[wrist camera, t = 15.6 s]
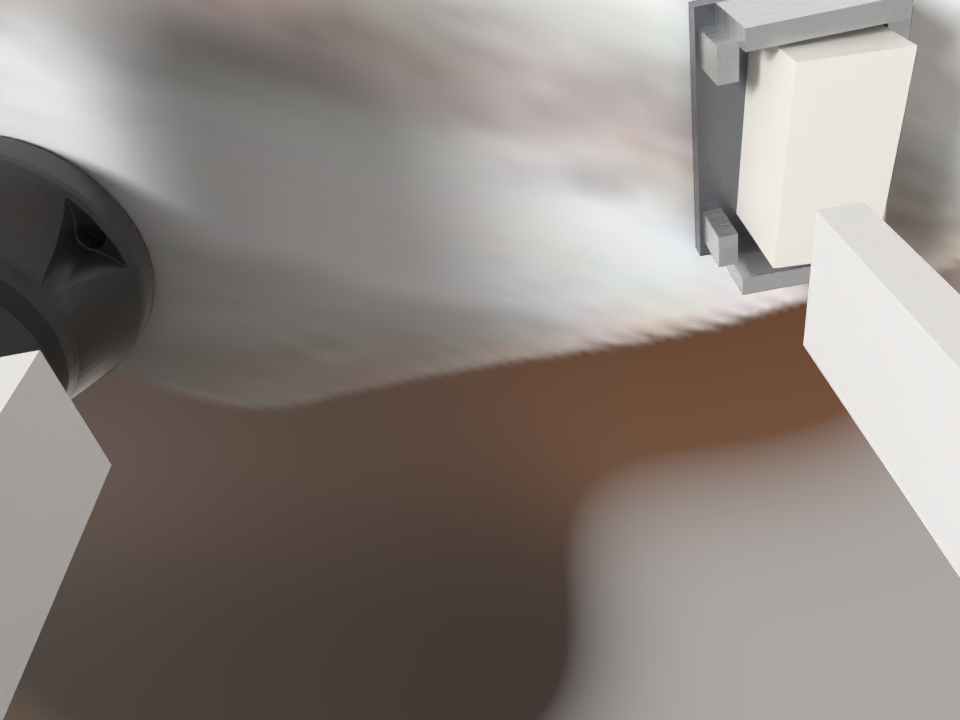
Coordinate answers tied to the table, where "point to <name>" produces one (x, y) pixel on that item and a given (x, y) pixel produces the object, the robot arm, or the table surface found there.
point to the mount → (720, 110)
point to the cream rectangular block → (819, 133)
